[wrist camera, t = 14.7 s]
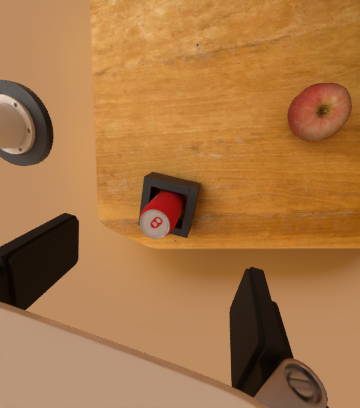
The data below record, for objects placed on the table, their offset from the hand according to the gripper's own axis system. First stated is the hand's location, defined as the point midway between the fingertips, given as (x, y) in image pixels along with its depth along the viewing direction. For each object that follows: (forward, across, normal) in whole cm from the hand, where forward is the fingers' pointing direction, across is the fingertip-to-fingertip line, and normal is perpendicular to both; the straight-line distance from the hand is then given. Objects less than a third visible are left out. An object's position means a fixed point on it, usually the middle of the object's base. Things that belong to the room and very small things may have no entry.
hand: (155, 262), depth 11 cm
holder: (+32, +5, +9) cm, 34 cm away
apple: (+32, -14, -12) cm, 37 cm away
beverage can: (+32, +5, +9) cm, 34 cm away
